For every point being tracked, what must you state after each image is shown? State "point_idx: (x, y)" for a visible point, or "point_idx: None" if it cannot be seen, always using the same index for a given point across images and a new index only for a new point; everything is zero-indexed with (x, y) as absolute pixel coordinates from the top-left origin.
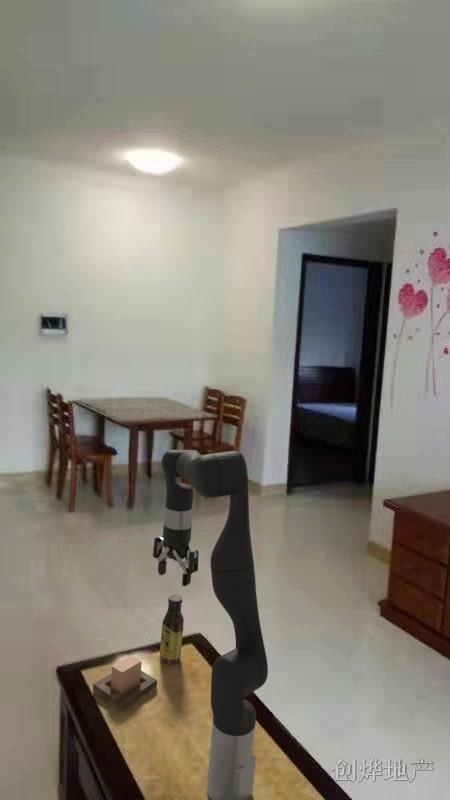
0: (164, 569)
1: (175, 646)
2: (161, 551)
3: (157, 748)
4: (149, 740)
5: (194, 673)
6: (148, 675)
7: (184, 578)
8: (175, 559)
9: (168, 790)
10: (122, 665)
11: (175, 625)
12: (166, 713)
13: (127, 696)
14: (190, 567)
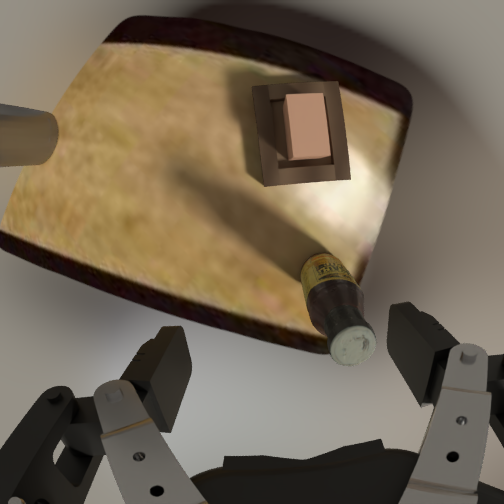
0: (399, 353)
1: (305, 279)
2: (500, 426)
3: (141, 94)
4: (162, 92)
5: (251, 277)
6: (289, 182)
7: (145, 357)
8: (248, 470)
9: (82, 72)
10: (308, 111)
11: (315, 297)
12: (194, 154)
13: (261, 106)
14: (37, 424)
